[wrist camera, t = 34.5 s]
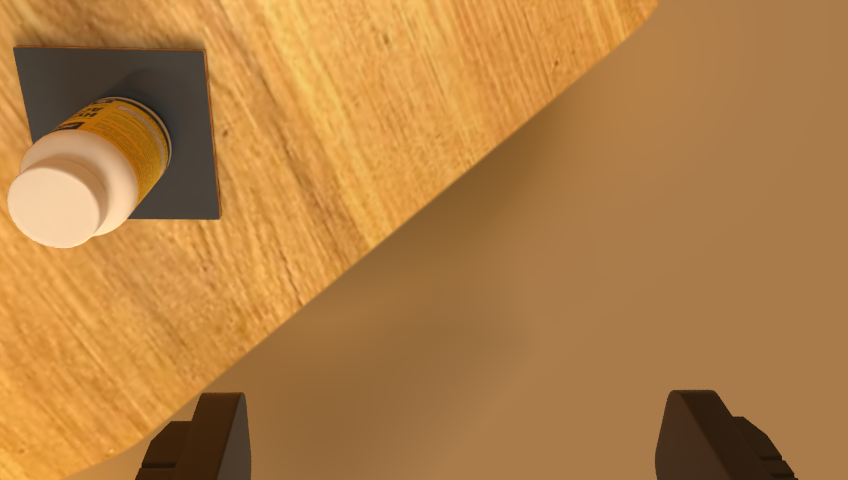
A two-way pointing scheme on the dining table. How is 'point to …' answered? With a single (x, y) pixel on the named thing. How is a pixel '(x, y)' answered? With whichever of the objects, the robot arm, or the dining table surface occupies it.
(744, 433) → the robot arm
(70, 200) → the supplement bottle
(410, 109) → the dining table surface
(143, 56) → the coaster
